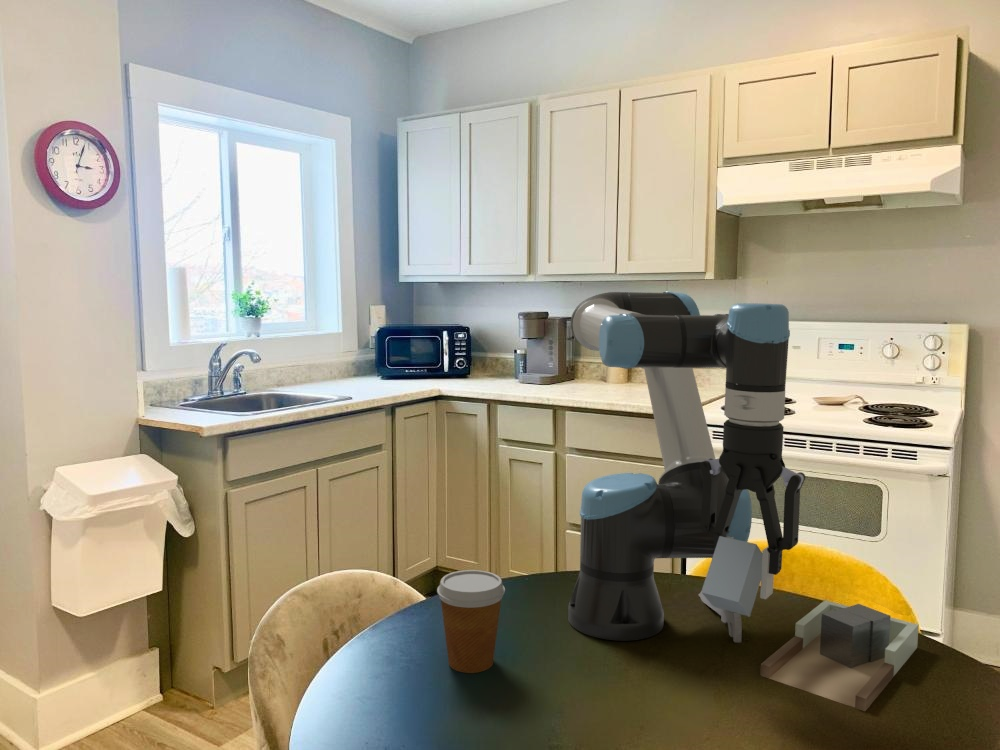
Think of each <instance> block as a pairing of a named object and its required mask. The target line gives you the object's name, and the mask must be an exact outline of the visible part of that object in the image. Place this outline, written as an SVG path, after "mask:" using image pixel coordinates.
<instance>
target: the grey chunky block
mask: <svg viewBox="0 0 1000 750" xmlns="http://www.w3.org/2000/svg"><path fill="white" fill-rule="evenodd" d="M843 610H845V611H848V612H850V613H853V614H855V615H858V616H860V617H863V618H865V619H868V620H870V621H871V636H870V655H869V662H874V661H877V660H879V659H882V658H885V649H886V648H887V647H888V645H889V635H890V618H892V617H891V615H890V614H887V613H884V612H882V611H879V610H878V609H877V610H876V609H873V608H871V607H868V606H866V605H864V604H861V603H857V604H854V605H849V607H846V608H843Z"/></svg>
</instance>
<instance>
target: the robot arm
mask: <svg viewBox="0 0 1000 750" xmlns="http://www.w3.org/2000/svg"><path fill="white" fill-rule="evenodd" d="M789 313H790V312H789V309H788V308H787V306H785V305H783V304H780V303H758V302H756V303H754V302H753V303H752V302H751V303H748V302H745V303H738V302H737V303H734V304H732V305H731V306H730V308H729V311H728V313H725V314H724V313H723V314H722V313H716V314H713V315H706V314H704V315H703V314H702V315H701V312H700V309H699V307H698V305H697V303H696V302H695V300H694V299H693V298H692V297H691V296H690V295H688V294H687V293H684V292H683V293H682V292H674V291H663V292H641V291H640V292H633V291H632V292H630V291H626V292H625V291H623V292H621V291H608V292H603V293H598V294H595V295H593V296H590V297H588V298H586V299H584V300H583V301H580V303H579V304H578V305H577V306H576V308H575V309H574V310H573V312H572V314H571V317H570V330H571V333H572V336H573V338H574V339H575V340H576V342H578V344H580V346H582V347H584V348H585V349H587V350H590V351H594V352H595V351H596V352H599V356H600V359H601V362H602V364H603V365H604V366H606V367H608V368H620V369H624V370H625V369H627V370H628V369H634V368H636V369H643V370H644V374H645V375H644V376H645V379H646V384H647V388H648V394H649V399H650V403H651V404H650V405H651V410H652V414H653V418H654V419H653V420H654V424H655V429H656V433H657V438H658V444H659V448H660V453H661V458H662V463H663V467H664V472H663V473H662V474H661V475H660V476H659V478H658V482H657V480H656V479H655V477H653V476H652V475H650V474H646V473H641V472H639V473H633V472H624V473H622V472H621V473H614V474H608V475H603V476H600V477H597V478H594V479H593V480H591V481H589V482H588V483H587V484H586V485H585V486H584V487H583V489H582V493H581V502H580V509H579V516H580V546H579V547H580V551H579V554H580V557H579V558H580V559H579V561H580V563H579V564H580V565H579V573H578V577H577V580H576V583H575V585H574V588H573V591H572V593H571V596H570V600H569V603H568V609H567V611H568V612H567V613H568V617H567V618H568V622H569V624H570V625H571V627H573V628H574V629H575V630H577V631H578V632H580V633H582V634H585V635H586V636H590V637H594V638H598V639H602V640H609V641H618V642H621V641H622V642H625V641H626V642H628V641H638V640H643V639H648V638H651V637H653V636H655V635H658V634H659V633H660V632H661V631H662V629H663V627H664V619H665V617H664V615H665V613H664V607H663V605H662V603H661V602H662V601H661V598H660V594H659V591H658V588H657V584H656V581H655V578H654V570H655V569H654V566H655V565H654V562H655V560H656V559H709V558H710V559H712V558H713V554H714V551H715V548H716V545H717V542H718V539H719V536H722V537H726V538H731V539H736V540H740V541H745V542H749V537H750V535H751V528H752V516H753V510H752V509H753V507H752V506H753V505H752V499H751V494H750V492H753V493H755V496H756V499H757V501H758V502H759V503H758V504H759V509H760V511H761V512H760V513H761V516H762V517H761V518H762V523H763V527H764V531H765V536H766V541H767V546H766V547H765V548H764V549H762V550H761V552H762V573H761V581H760V593H759V598H760V599H762V600H763V599H764V600H768V598H769V597H770V596H771V595H773V593H774V577H775V576H777V575H778V574H779V573H780V572H781V571H782V566H783V565H782V562H783V550H784V551H785V550H787V551H790V550H792V549H793V548H794V547H795V546H797V545H798V543H799V533H800V532H799V528H800V503H801V489H802V487H803V485H804V483H805V480H806V475H805V473H803V472H795V471H793V470H791V469H789V468H787V467H786V464H785V462H784V460H783V445H784V443H783V442H784V426H783V424H782V423H781V421H783V420H784V419H785V411H786V410H785V407H786V403H785V402H786V382H787V370H788V369H787V368H788V354H789V353H788V352H789V341H790V336H791V334H790V333H791V330H790V326H789V325H790V323H789V321H790V319H789V317H790V315H789ZM697 368H699V369H726V370H725V384H724V385H725V390H724V391H725V393H724V416H725V418H727V419H726V420H725V421H724V422H723V432H722V433H723V434H722V453H721V454H720V456H719V458H716V455H715V452H714V448H713V444H712V440H711V435H710V432H709V428H708V424H707V420H706V416H705V413H704V412H705V411H704V408H703V404H702V399H701V396H700V391H699V389H698V384H697V381H696V376H695V373H694V369H697ZM780 477H781V478H782V479H783V481H782V484H783V486H784V487H785V491H784V498H783V499H784V501H783V502H784V503H783V529H782V528H781V522H780V517H779V513H778V508H777V504H776V498H775V494H776V492H775V486H774V484H775V482H776V481H778V479H779V478H780ZM749 491H750V492H749ZM782 530H783V531H782Z"/></svg>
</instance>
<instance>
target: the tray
mask: <svg viewBox="0 0 1000 750" xmlns="http://www.w3.org/2000/svg"><path fill="white" fill-rule="evenodd" d="M846 607H850V605H849V606H847V605H844V604H841V603H837V602H833V601H829V600H825V599H824V600H823V601H822V602H821V603H820V604H818V605H817V606H816V607H814V608H813V609H812V610H811V611H810V612H808V613H807V614H806V615H804V616H803V617H802V618H800V619H799V620H798V621H796V622H795V625H794V626H795V628H794V632H795V633H794V636H797V637H801V638H803V648H804V647H805V646H807V645H808V644H809V643H810V642H811V641H812V640H814V639H815V638H816V637H817V636H818V635H819V634H820V633H821V619H822V613H826V612H829V611H833V610H836V609H843V608H846ZM918 641H919V624H917V623H913V622H909V621H906V620H902V619H899V618H895V617H891V618H890V635H889V643H890V644H889V645H888V647H887V648H886V649H885V663H888V664H892V665H894V675H895V676H896V675H897V673H898V672H899V671H900V670H901V668H902V667H903V666H904V665H905V663H907V661H908V660H909V659H910V657H911V656H912V655H913V654H914V652H916V650H917V649H918ZM916 648H917V649H916ZM912 653H913V654H912ZM908 658H909V659H908ZM907 659H908V660H907ZM903 664H904V665H903ZM899 669H900V670H899ZM898 670H899V671H898ZM895 676H893V678H894V677H895Z"/></svg>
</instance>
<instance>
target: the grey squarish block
mask: <svg viewBox="0 0 1000 750" xmlns="http://www.w3.org/2000/svg"><path fill="white" fill-rule="evenodd" d="M870 636H871V621H870V620H868V619H865V618H863V617H860V616H858V615H855V614H853V613H850V612H848V611H845V610H843V609H836V610H833V611H829V612H826V613H822V619H821V640H820V654H821V655H823V656H825V657H827V658H829V659H832V660H834V661H836V662H838V663H840V664H842V665H844V666H846V667H849V668H854V667H857V666H859V665H862V664H865V663H868V662H869V655H870Z"/></svg>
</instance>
